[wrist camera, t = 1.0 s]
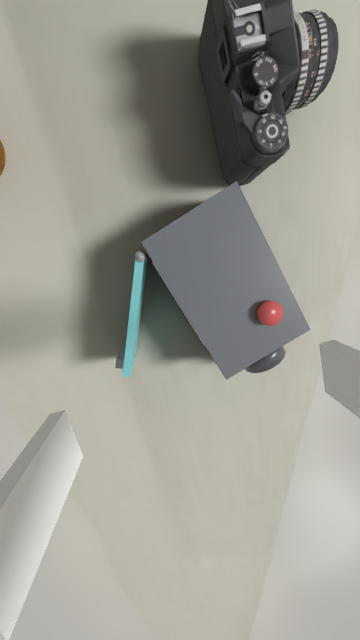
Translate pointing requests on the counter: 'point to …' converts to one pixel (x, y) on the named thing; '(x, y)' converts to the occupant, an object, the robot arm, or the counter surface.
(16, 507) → the robot arm
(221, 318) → the grey boxy piece
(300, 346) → the counter surface
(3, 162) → the disposable coffee cup
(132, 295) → the door
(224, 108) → the camera
